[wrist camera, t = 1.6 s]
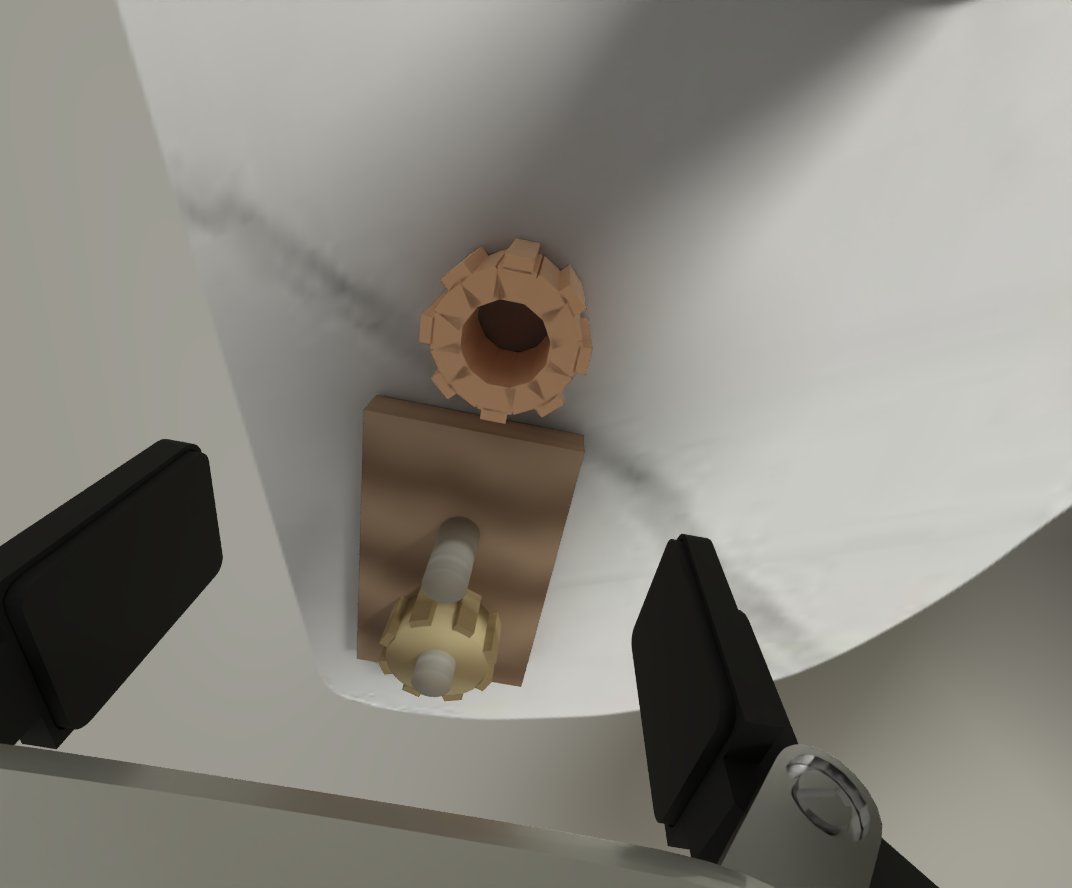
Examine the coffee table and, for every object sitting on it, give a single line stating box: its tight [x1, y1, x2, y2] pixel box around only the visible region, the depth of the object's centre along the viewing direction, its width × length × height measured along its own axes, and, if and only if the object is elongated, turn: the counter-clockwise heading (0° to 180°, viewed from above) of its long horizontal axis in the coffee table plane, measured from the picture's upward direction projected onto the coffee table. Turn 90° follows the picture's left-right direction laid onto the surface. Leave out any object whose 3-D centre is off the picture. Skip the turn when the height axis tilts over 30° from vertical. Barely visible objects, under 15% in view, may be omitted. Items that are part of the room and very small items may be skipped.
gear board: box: [357, 395, 585, 701], centre depth 31 cm, size 20×12×6 cm, turn 169°
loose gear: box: [419, 238, 592, 424], centre depth 24 cm, size 7×7×5 cm
